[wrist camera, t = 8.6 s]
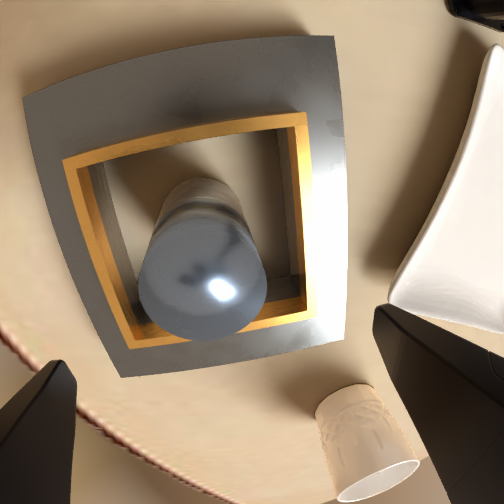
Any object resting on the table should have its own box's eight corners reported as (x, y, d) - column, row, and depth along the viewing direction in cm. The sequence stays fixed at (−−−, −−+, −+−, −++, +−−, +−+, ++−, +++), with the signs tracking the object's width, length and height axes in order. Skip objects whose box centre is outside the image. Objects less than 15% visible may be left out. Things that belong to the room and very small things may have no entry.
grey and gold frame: (317, 43, 15) (346, 30, 12) (332, 317, 24) (351, 353, 20) (42, 96, 14) (7, 98, 10) (125, 354, 23) (118, 393, 19)
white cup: (364, 420, 32) (395, 488, 23) (301, 429, 31) (325, 508, 22) (390, 374, 29) (435, 450, 20) (320, 383, 27) (356, 475, 18)
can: (235, 170, 18) (259, 219, 11) (247, 246, 20) (272, 329, 13) (153, 186, 18) (121, 245, 11) (171, 260, 20) (159, 348, 13)
